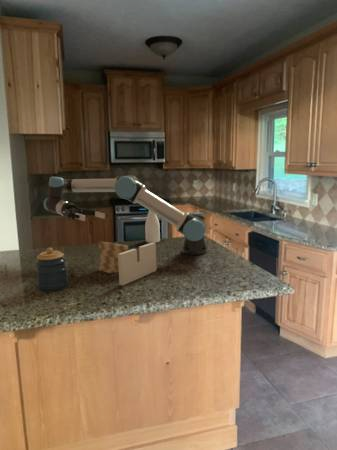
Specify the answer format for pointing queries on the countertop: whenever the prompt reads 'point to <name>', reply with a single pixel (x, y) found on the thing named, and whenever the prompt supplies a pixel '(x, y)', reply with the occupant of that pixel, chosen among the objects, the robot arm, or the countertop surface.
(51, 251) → the canister
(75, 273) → the countertop surface
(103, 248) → the brown angled piece
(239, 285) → the countertop surface
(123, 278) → the cream board
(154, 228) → the white rounded block
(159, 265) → the countertop surface
